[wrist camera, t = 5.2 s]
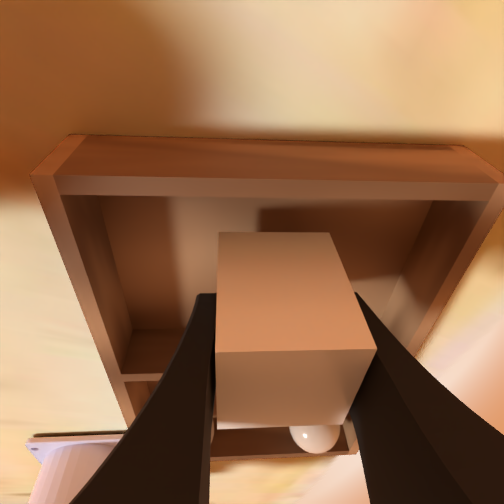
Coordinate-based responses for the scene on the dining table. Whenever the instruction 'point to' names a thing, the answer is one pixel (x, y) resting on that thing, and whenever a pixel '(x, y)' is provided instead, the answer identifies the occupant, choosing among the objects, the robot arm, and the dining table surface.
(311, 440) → the pebble
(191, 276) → the caddy
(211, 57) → the dining table surface
